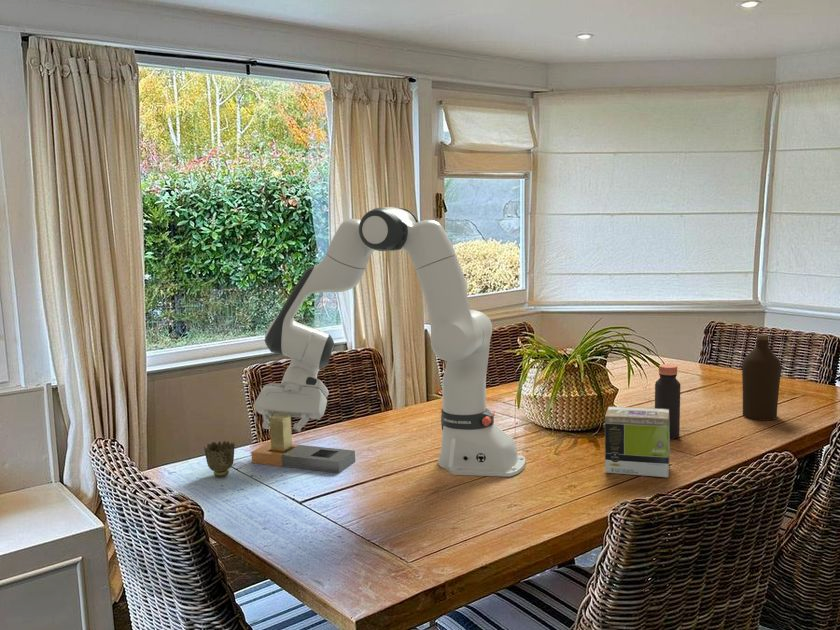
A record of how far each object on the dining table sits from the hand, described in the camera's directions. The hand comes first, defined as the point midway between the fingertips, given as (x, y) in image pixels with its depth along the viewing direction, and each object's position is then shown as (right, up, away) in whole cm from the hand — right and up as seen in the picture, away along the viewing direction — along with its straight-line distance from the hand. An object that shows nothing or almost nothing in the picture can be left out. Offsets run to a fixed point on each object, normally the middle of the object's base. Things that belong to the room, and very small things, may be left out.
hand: (280, 429), depth 201 cm
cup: (-13, -10, -9) cm, 19 cm away
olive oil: (+140, 0, +28) cm, 142 cm away
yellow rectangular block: (0, -8, +1) cm, 8 cm away
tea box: (+91, -8, -13) cm, 92 cm away
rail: (+6, -8, -1) cm, 11 cm away
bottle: (+106, -4, +12) cm, 107 cm away
